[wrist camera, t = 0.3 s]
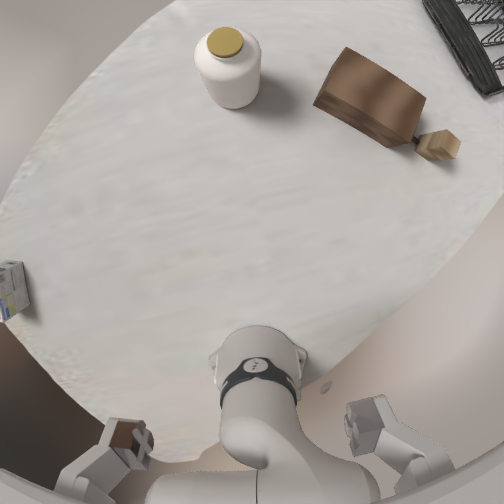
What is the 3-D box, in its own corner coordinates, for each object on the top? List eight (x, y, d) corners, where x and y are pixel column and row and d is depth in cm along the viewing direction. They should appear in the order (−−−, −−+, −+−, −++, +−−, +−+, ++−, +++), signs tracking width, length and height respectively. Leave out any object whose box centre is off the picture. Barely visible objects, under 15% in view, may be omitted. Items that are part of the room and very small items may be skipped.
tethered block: (434, 142, 45) (462, 137, 36) (426, 163, 46) (454, 162, 37) (340, 80, 43) (357, 62, 34) (330, 102, 44) (345, 87, 35)
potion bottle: (207, 70, 43) (186, 19, 25) (256, 64, 43) (257, 10, 25) (211, 113, 45) (190, 77, 27) (261, 107, 44) (267, 67, 27)
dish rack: (543, 82, 39) (569, 77, 27) (474, 110, 43) (510, 102, 32) (488, -15, 32) (508, -29, 20) (394, -18, 37) (416, -44, 25)
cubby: (403, 108, 44) (426, 98, 36) (387, 147, 46) (410, 142, 37) (332, 65, 42) (346, 46, 34) (312, 105, 44) (324, 90, 36)
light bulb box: (6, 259, 51) (-24, 272, 40) (23, 260, 51) (-8, 274, 40) (14, 302, 53) (-13, 319, 42) (31, 305, 53) (3, 324, 42)
